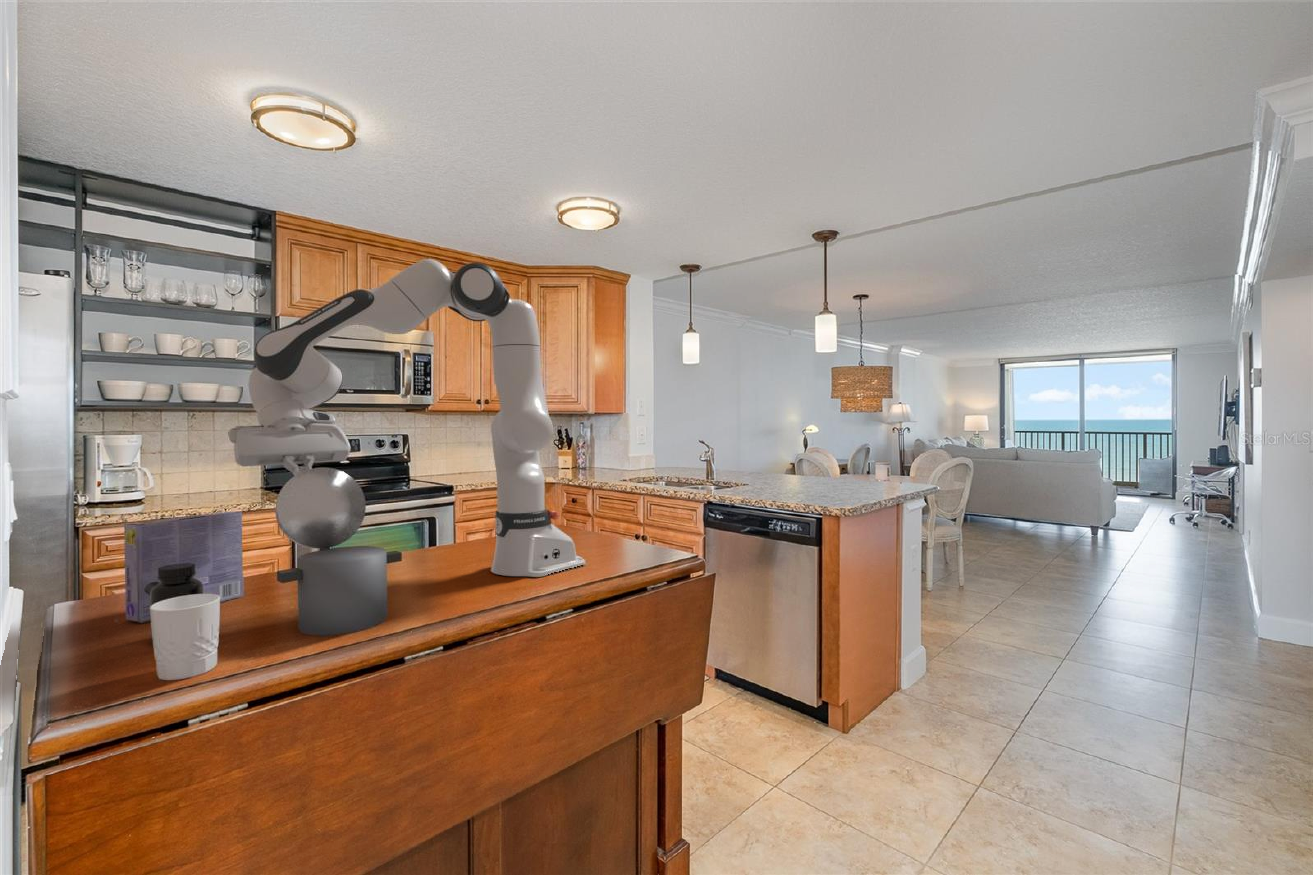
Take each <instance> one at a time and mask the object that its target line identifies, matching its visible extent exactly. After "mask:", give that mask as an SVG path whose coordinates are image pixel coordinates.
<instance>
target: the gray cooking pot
mask: <svg viewBox="0 0 1313 875" xmlns="http://www.w3.org/2000/svg"><path fill="white" fill-rule="evenodd" d="M402 554H403V553H402V552H401V551H398V550H391V551H387V549H385V548H384V547H380V546H374V545H373V546H370V545H352V546H351V545H350V546H342V547H330V548H323V549H318V550H315V551H311V552H307V553H304V554H302V555H300V556H298V557H297V559H296V566H297V567H293V568H287V569H281V570H277V571H276V581H277V582H278V583H280V584H286V583H292V582H296V581H297V611H298V612H297V614H298V615H297V616H298V617H297V618H298V620H297V621H298V622H297V623H298V631H299V632H300V633H301V632H302V634H303V635H308V636H315V637H317V636H318V637H329V636H340V635H346V634H353V633H357V632H362V631H365V630H368V629H371V628H374V627H377V626H379V625H380V624H382V623H383V622H385V621H386V620H387V619H388V616H389V615H388V614H389V613H388V570H387V568H388V565H387V564H393V563H398V562H402V561H403V557H402V556H403V555H402ZM386 618H387V619H386Z"/></svg>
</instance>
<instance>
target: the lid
mask: <svg viewBox="0 0 1313 875" xmlns="http://www.w3.org/2000/svg"><path fill="white" fill-rule="evenodd" d="M366 505H367V504H366V498H365V494H364V491H363V490H362V488H361V486H360V484H359V483H358V482H357V481H356V480H355V479H354V478H353V477H352V476H350V475H349V474H348V473H346V472H344V471H342V470H340V469H337V468H332V467H325V466H324V467H323V466H322V467H315V468H314V467H313V468H312V469H310V470H307V471H304V472H301V473H299V474H297V475H296V476H294V475H293V477H291V478H290V479H289V480H287V481H286V483H285V484H284V485H283V486H282V488H281V489H280V491H279V493H278V495H277V498H276V502H275V508H274V509H275V518H276V522H277V524H278V527H279V528H280V530H281V531H282V533H283V534H284V535H285V536H286V537H287V538H288V539H289V540H290V541H292V542H293V543H294V544H296V545H298V546H301V547H304V548H307V549H314V550H315V549H318V550H321V549H330V548H335V547H336V546H339V545H342V544H344V543H345V542H347V541H349V540H350V539H351V538H352V537H353V536H354V535H355V534H356V533H357V532H358V530H359V529H360V528H361V525H362V524H363V522H364V519H365V515H366V509H367V508H366V507H367V506H366Z"/></svg>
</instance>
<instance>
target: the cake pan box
mask: <svg viewBox="0 0 1313 875" xmlns="http://www.w3.org/2000/svg"><path fill="white" fill-rule="evenodd" d="M123 527H124V528H123V529H124V532H123V534H124V536H123V537H124V583H125V584H124V585H125V587H124V589H125V619H126V620H128V621H132V622H136V623H139V624H143V623H146V622H147V623H148V622H151V616H150V592H151V589H152V588H153V587H154V586H155V585H157V584H158V583H160V580H157V576H158V568H160V567H162V566H167V565H172V564H180V563H193V564H195V572H196V575H195V576H194V578H195V579H198V580H200V581H201V582H202V584H203V594H216V595H219V596H220V603H224V602H226V600H227V601H231V600H235V599H239V598H244V570H243V569H244V568H243V567H244V566H243V565H244V564H243V563H244V562H243V513H242V511H241V510H240V511H239V510H238V511H236V510H235V511H224V512H216V513H215V512H214V513H207V514H200V515H199V514H198V515H197V514H196V515H192V516H191V515H188V516H187V515H186V516H180V517H179V516H178V517H170V518H163V519H156V520H148V521H147V520H146V521H139V522H138V521H137V522H129V523H124V525H123Z"/></svg>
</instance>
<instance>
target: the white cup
mask: <svg viewBox="0 0 1313 875" xmlns="http://www.w3.org/2000/svg"><path fill="white" fill-rule="evenodd" d="M220 610H221V602H220V596H219V595H216V594H194V595H186V596H180V597H175V598H170V599H166V600H163V601H160V602H157V603H155V604H153V605H151V606H150V616H151V620H150V629H151V628H152V639H153V642H152V647H153V656H154V659H155V665H156V675H157V677H158V679H159V680H162V681H177V680H183V679H185V680H186V679H189V678H194V677H197V676H199V675H204V674H206V673H208V672H209V671H212V670H213V669H214V668H216V666H218V646H219V641H220V639H219V634H220V615H221V611H220Z"/></svg>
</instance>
